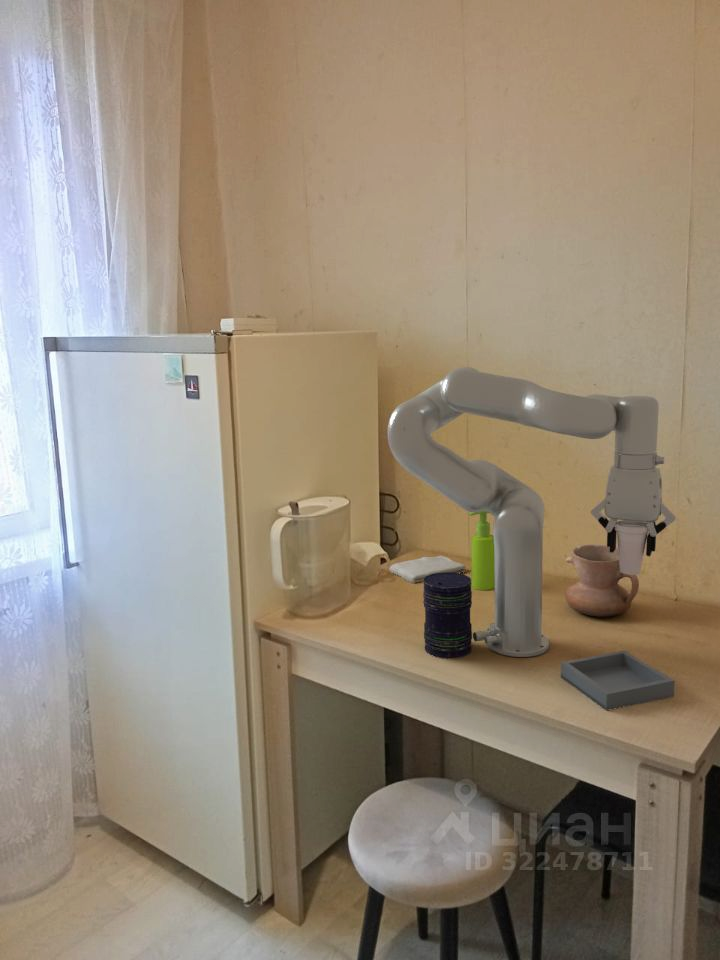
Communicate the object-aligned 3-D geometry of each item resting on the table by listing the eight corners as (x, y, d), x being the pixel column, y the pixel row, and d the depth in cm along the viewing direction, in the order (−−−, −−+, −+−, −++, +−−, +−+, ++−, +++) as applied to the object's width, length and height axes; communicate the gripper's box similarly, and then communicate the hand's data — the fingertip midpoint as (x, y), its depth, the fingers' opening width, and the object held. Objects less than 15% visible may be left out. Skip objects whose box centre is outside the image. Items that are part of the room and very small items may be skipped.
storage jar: (441, 635, 167) (440, 569, 165) (481, 646, 161) (481, 577, 158) (414, 651, 160) (413, 582, 157) (455, 663, 154) (454, 591, 151)
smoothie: (652, 577, 149) (656, 505, 146) (618, 577, 149) (622, 506, 146) (640, 566, 155) (645, 498, 152) (608, 567, 155) (612, 498, 153)
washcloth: (468, 573, 210) (468, 562, 209) (412, 586, 201) (412, 574, 201) (442, 562, 220) (442, 552, 220) (388, 574, 212) (388, 563, 211)
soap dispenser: (464, 585, 199) (463, 509, 196) (488, 581, 201) (488, 506, 198) (474, 592, 194) (473, 514, 190) (499, 588, 196) (499, 511, 192)
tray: (606, 710, 133) (606, 694, 133) (560, 677, 146) (561, 662, 146) (673, 696, 137) (674, 680, 137) (623, 664, 150) (624, 650, 150)
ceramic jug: (547, 609, 181) (549, 550, 178) (583, 593, 190) (585, 537, 187) (617, 631, 168) (620, 569, 164) (652, 613, 177) (655, 553, 174)
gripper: (685, 460, 147) (680, 552, 151) (591, 456, 155) (588, 543, 158) (682, 467, 141) (676, 563, 144) (584, 462, 148) (581, 553, 152)
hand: (630, 551), depth 151 cm, fingers closed on smoothie, 6 cm apart
